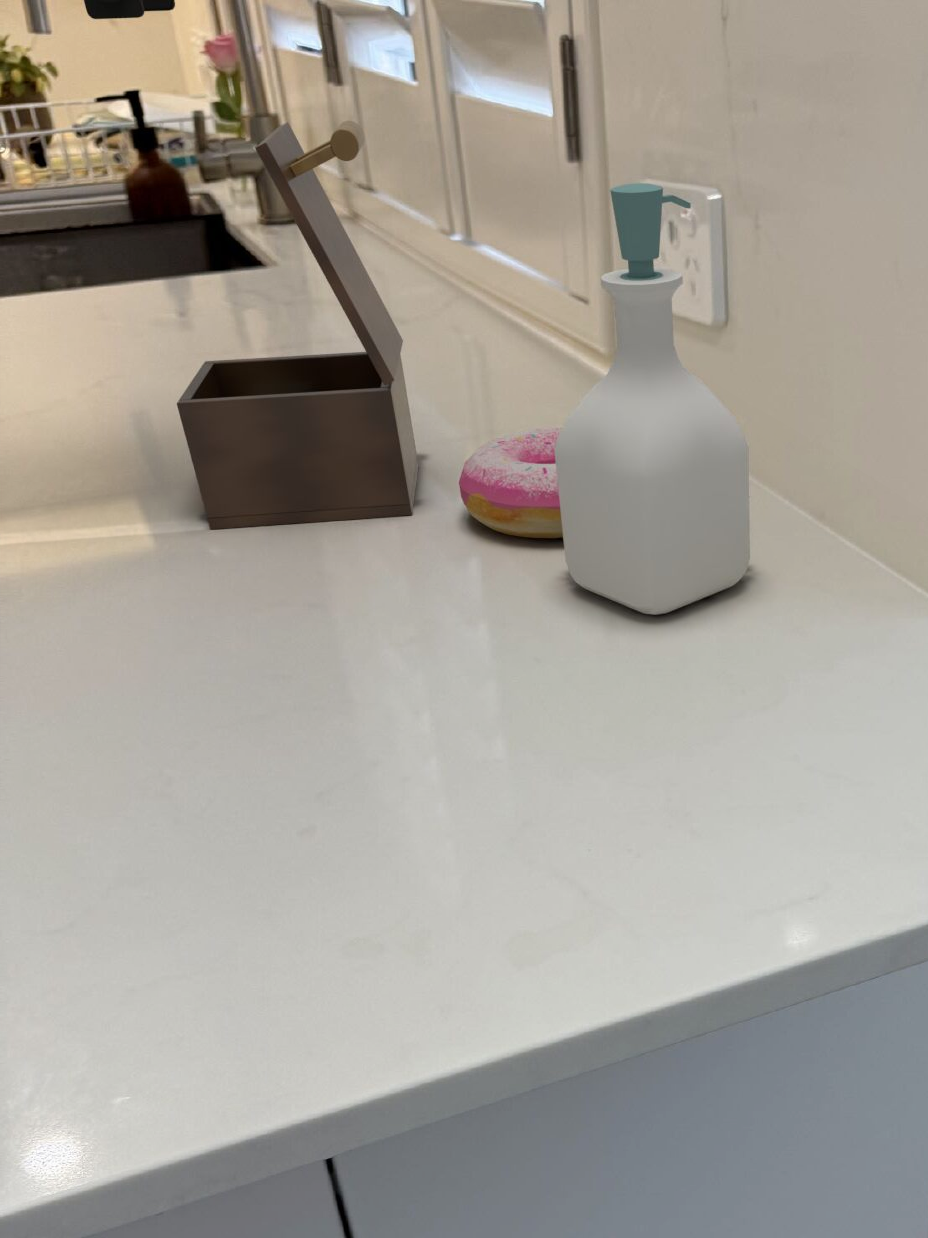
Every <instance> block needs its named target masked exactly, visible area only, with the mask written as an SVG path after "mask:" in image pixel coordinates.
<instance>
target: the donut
mask: <svg viewBox="0 0 928 1238" xmlns="http://www.w3.org/2000/svg"><path fill="white" fill-rule="evenodd" d="M562 427H563V426H557V427H556V426H553V427H544V428H536V429H530V430H524V431H520V432H515V433H511V434H508V435H504V436H500V437H498V438H496V439H493V440H491V441H488V442H486V443H485V444H483V445H481V446H480V447H478V449H477V450H476V451H475V452H474V453H472V455H471V456H470V457H469V458H467V460H466V461H465V462H464V464H463V468H462V470H461V473H460V477H459V479H458V480H459V481H458V486H459V492H460V498H461V500H462V503H463V505H464V506H465V508H466V509H467V511H468V512H469V514H470V516H472V518H474V519H476V520H477V521H478V522H480V523H481V524H483V525H484V526H486V527H487V528H489V529H491V530H493V531H495V532H499V533H502V534H505V535H509V536H516V537H521V538H531V539H532V538H533V539H558V538H559V539H560V538H563V530H562V520H561V510H560V500H559V490H558V480H557V471H556V461H555V447H556V442H557V438H558V436H559V434H560V431H561V429H562Z"/></svg>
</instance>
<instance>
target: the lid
mask: <svg viewBox="0 0 928 1238" xmlns="http://www.w3.org/2000/svg"><path fill="white" fill-rule="evenodd" d="M364 144H365V134H364V130H363V129H362V127H361V125H359V124H358V123H357V122H355V121H353V120H345V121H342V122H341V123H340V124H339V126H338V127H336V129H335V130H334V132H333V133H332V134H331V137H330V140H327V141H325V142H323V143H322V144H320V145H318V146H316V147H314V148H312V149H310V150H308V151H306V152H305V151H304V149H303V148H302V146H301V144H300V142H299V140H298V138H297V136H296V134H295V132H294V130H293V129H292V127H291V124H290V123H289V122H288V121H287V122H284V123H282V124H281V125H279V126H278V127H276V129H274V130H273V131H271V133H270V134H268V136H267V137H265V138H264V139H263V140H262V141H261V142H260V143H259V144H257V145H256V146H255V148H254V149H255V151H256V153H257V155H258V156H259V159H260V161H261V162H262V164H263V165H264V168H265V170H266V172H267V173H268V175H269V176H270V178H271V180H272V182H273V184H274V185H275V188H276V189H277V191H278V193H279V196H280V197H281V198H282V200H283V202H284V204H285V206H286V208H287V210H288V211H289V213H290V214H291V217H292V219H293V220H294V222H295V224H296V226H297V228H298V230H299V231H300V233H301V235H302V237H303V239H304V241H305V242H306V244H307V246H308V248H309V250H310V252H311V254H312V255H313V257H314V259H315V261H316V263H317V265H318V266H319V268H320V270H321V272H322V274H323V276H324V278H325V279H326V282H327V283H328V284H329V287H330V289H331V290H332V293H333V294H334V296H335V297H336V299H337V301H338V303H339V305H340V307H341V308H342V311H343V312H344V313H345V316H346V317H347V320H348V321H349V323H350V325H351V326H352V329H353V330H354V332H355V334H356V336H357V338H358V340H359V341H360V343H361V345H362V347H363V349H364V351H365V352H367V354H368V356H369V358H370V360H371V361H372V363H373V365H374V367H375V369H376V371H377V372H378V374H379V376H380V378H381V380H382V382H383V383H384V385H387V384H389V383H391V382H393V381H394V380H395V376H396V371H397V367H398V362H399V357H400V355H401V352H402V347H403V343H404V339H403V338H402V336H401V334H400V332H399V329H398V328H397V326H396V324H395V322H394V321H393V318H392V317H391V315H390V312H389V311H388V309H387V307H386V305H385V304H384V301H383V299H382V298H381V296H380V294H379V292H378V290H377V288H376V287H375V284H374V283H373V281H372V278H371V277H370V275H369V273H368V271H367V269H366V268H365V267H366V266H365V265H364V264H363V261H362V260H361V258H360V256H359V254H358V252H357V250H356V248H355V245H354V244H353V243H352V240H351V238H350V237H349V235H348V233H347V231H346V230H345V227H344V226H343V223H342V222H341V220H340V218H339V216H338V214H337V212H336V210H335V209H334V207H333V205H332V203H331V200H330V199H329V197H328V195H327V193H326V192H325V190H324V187H323V186H322V184H321V181H320V180H319V177H318V176H317V174H316V172H315V171H314V169H315V168H317V167H319V166H321V165H323V164H324V163H327V162H329V161H331V160H332V159H334V158H337V159H339V160H340V161H343V162H351V161H353V160H354V159H355V158H357V156H358V155H359V153H360V151H361V149H362V148H363V147H364Z"/></svg>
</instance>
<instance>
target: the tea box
mask: <svg viewBox="0 0 928 1238" xmlns="http://www.w3.org/2000/svg"><path fill="white" fill-rule="evenodd" d="M405 380H406V379H405V374H404V367H403V360H402V356H401V354H400V357H399V362H398V367H397V371H396V376H395V380H394V381H393V382H391V383H389V384H387V385H384V383H383V382H382V380H381V378H380V376H379V374H378V372H377V371H376V369H375V367H374V365H373V363H372V361H371V360H370V358H369V356H368V354H367V352H366V351H356V352H354V351H353V352H340V353H339V352H337V353H321V354H305V355H287V356H286V355H285V356H274V357H273V356H272V357H271V356H270V357H254V358H253V357H252V358H237V359H235V358H234V359H222V360H221V359H220V360H219V359H218V360H205V361H204V362H203V363H202V365H201V366H200V368H199V369H198V371H197V372H196V374H195V376H194V377H193V378H192V380H191V381H190V383H189V384H188V385H187V387H186V389H185V390H184V392H183V393H182V395H181V396H180V398H179V399H178V401H177V402H176V406H177V411H178V415H179V418H180V421H181V425H182V429H183V433H184V436H185V440H186V444H187V449H188V452H189V455H190V459H191V463H192V467H193V471H194V474H195V478H196V482H197V485H198V489H199V492H200V496H201V501H202V504H203V508H204V511H205V516H206V518H207V523H208V527H209V529H210V530H219V529H235V528H247V527H249V528H251V527H261V526H263V527H264V526H276V525H277V526H278V525H290V524H304V523H318V522H319V523H320V522H334V521H335V522H336V521H347V520H362V519H363V520H364V519H374V518H375V519H376V518H388V517H389V518H390V517H392V518H393V517H402V516H406V517H407V516H412V515H413V511H414V502H415V496H416V489H417V482H418V474H419V466H420V465H419V459H418V458H419V457H418V454H417V447H416V441H415V435H414V428H413V423H412V415H411V411H410V405H409V399H408V398H409V397H408V391H407V386H406V381H405Z"/></svg>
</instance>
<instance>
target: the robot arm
mask: <svg viewBox="0 0 928 1238" xmlns="http://www.w3.org/2000/svg"><path fill="white" fill-rule="evenodd" d="M83 2H84V7H85V11H86V13H87V15H88V16H89V17H90V18H91V19H93V20H112V19H116V20H117V19H138V18H142V17H143V16H144V15H145V12H165V11H168V12H170V11H173V10H174V9H175V8H176V1H175V0H83Z"/></svg>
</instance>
